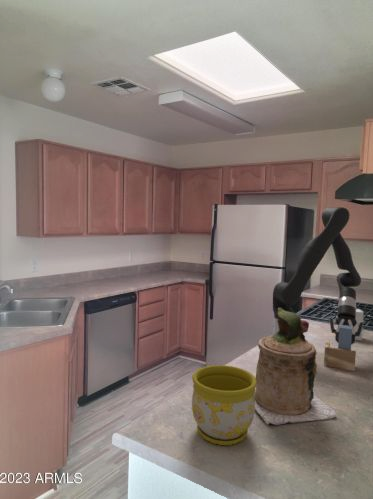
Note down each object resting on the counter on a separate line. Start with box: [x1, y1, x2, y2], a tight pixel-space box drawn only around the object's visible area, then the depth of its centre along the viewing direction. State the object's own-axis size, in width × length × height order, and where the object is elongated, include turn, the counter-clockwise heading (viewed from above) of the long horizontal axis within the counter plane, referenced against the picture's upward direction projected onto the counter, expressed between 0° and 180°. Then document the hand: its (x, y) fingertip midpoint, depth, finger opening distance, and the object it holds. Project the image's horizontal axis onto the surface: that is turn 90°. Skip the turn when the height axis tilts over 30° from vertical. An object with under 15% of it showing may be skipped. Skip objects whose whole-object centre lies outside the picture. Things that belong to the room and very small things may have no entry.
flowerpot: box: [191, 364, 257, 446], centre depth 104 cm, size 18×18×16 cm
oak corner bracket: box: [323, 339, 357, 372], centre depth 159 cm, size 11×12×8 cm
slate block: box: [337, 325, 352, 350], centre depth 158 cm, size 5×5×11 cm
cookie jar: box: [254, 308, 337, 426], centre depth 122 cm, size 25×25×32 cm
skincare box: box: [353, 308, 365, 341], centre depth 195 cm, size 8×7×16 cm
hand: (344, 342), depth 156 cm, fingers closed on slate block, 5 cm apart
